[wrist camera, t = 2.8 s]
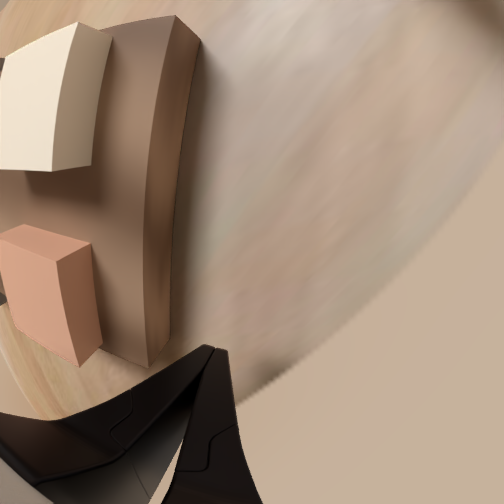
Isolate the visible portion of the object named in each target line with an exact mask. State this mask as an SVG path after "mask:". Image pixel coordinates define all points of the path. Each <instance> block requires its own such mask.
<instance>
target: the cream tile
mask: <svg viewBox="0 0 504 504" xmlns="http://www.w3.org/2000/svg"><path fill="white" fill-rule="evenodd" d="M112 38H113V37H112V36H110V35H108V34H106V33H104V32H101V31H99V30H97V29H94V28H92V27H90V26H87V25H85V24H82V23H80V22H77V23H74V24H71V25H69V26H66V27H64V28H62V29H59V30H57V31H55V32H52V33H50V34H48V35H46V36H44V37H42V38H39V39H37V40H35V41H33V42H31V43H30V44H28V45H26V46H24V47H22V48H20V49H18V50H17V51H15V52H13V53H11V54H10V55H8V56H6V58H5V62H4V66H3V70H2V74H1V78H0V169H8V170H32V171H50V172H52V171H58V170H64V169H70V168H76V167H83V166H90V165H91V160H92V148H93V137H94V128H95V121H96V113H97V107H98V101H99V95H100V89H101V84H102V79H103V74H104V70H105V65H106V61H107V57H108V53H109V49H110V45H111V42H112Z"/></svg>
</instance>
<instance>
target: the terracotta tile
mask: <svg viewBox="0 0 504 504" xmlns="http://www.w3.org/2000/svg"><path fill="white" fill-rule="evenodd" d="M0 272H1V277H2V281H3V285H4V289H5V293H6V297H7V301H8V304H9V308H10V311H11V315H12V318H13V321H14V324H15V327H16V328H17V329H18V330H20V331H21V332H23V333H24V334H25V335H27V336H28V337H30V338H31V339H33V340H34V341H36V342H37V343H39V344H40V345H42V346H43V347H45V348H47V349H48V350H50V351H51V352H53V353H55V354H56V355H58V356H60V357H61V358H63V359H65V360H67V361H68V362H70V363H72V364H74V365H75V366H77V367H79V368H80V367H81V366H82V365H83V363H84V362H85V361H86V360H87V359H88V358H89V357H90V356H91V355H92V354H93V353H94V352H95V351H96V350H97V349H98V348H99V347H100V346H101V345H102V343H103V340H102V335H101V329H100V323H99V317H98V311H97V304H96V297H95V288H94V279H93V269H92V256H91V243H88V242H85V241H81V240H77V239H74V238H70V237H67V236H63V235H60V234H56V233H53V232H49V231H46V230H42V229H39V228H36V227H32V226H29V225H26V224H23V225H20V226H18V227H15V228H13V229H10V230H8V231H5V232H3V233H0Z"/></svg>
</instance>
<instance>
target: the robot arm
mask: <svg viewBox="0 0 504 504" xmlns="http://www.w3.org/2000/svg"><path fill="white" fill-rule="evenodd" d="M237 424H238V423H237V416H236V409H235V402H234V395H233V388H232V380H231V373H230V365H229V357H228V351H227V350H225V349H221V348H215V347H213V346H210V345H206V344H203V345H201V346H200V347H198V348H197V349H195V350H193V351H192V352H190V353H189V354H187V355H185V356H184V357H182V358H181V359H179V360H177V361H176V362H174V363H173V364H171V365H169V366H168V367H166V368H164V369H163V370H161V371H159V372H158V373H156V374H154V375H153V376H151V377H149V378H148V379H146V380H144V381H143V382H141V383H139V384H138V385H136V386H134V387H132V388H131V390H130V389H129V390H127V391H125V392H124V393H122V394H120V395H118V396H116V397H114V398H112V399H110V400H108V401H106V402H104V403H102V404H99V405H97V406H95V407H92V408H90V409H87V410H84V411H82V412H79V413H76V414H74V415H71V416H68V417H66V418H62V419H58V420H51V421H46V420H38V419H32V418H26V417H20V416H15V415H10V414H5V413H1V412H0V504H148V503H149V502H150V499H151V497H152V496H153V494H154V492H155V491H156V489H157V487H158V485H159V483H160V481H161V479H162V478H163V476H164V474H165V472H166V470H167V468H168V466H169V465H170V463H171V461H172V459H173V457H174V455H175V453H176V451H177V450H178V448H179V446H180V444H181V442H182V440H183V442H182V446H181V449H180V453H179V457H178V460H177V464H176V467H175V472H174V475H173V479H172V482H171V484H170V487H169V489H168V491H167V493H166V495H165V497H164V499H163V501H162V503H161V504H263V503H262V501H261V498H260V496H259V494H258V492H257V490H256V487H255V484H254V481H253V479H252V476H251V473H250V470H249V468H248V465H247V462H246V459H245V456H244V452H243V449H242V445H241V440H240V435H239V428H238V425H237Z"/></svg>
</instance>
